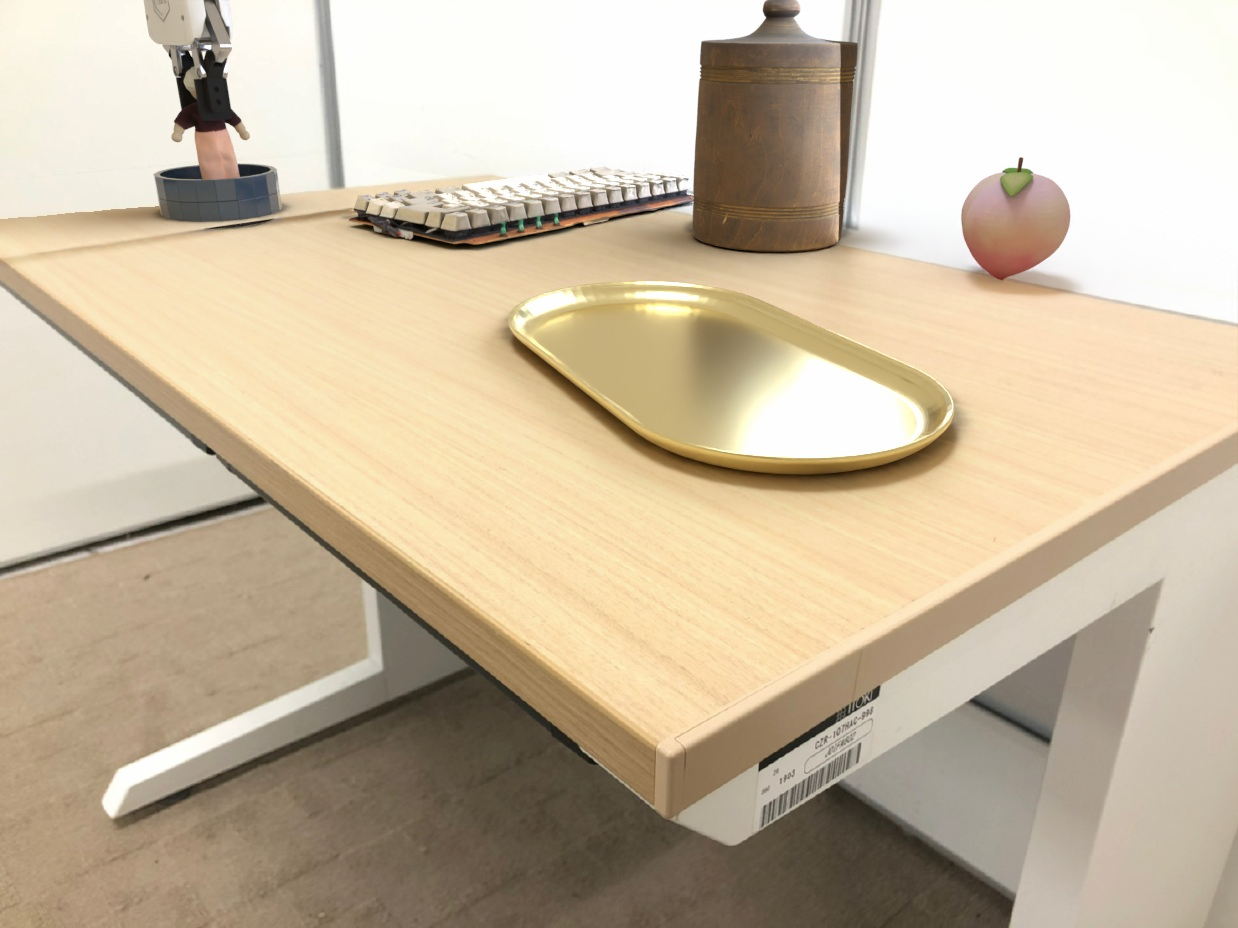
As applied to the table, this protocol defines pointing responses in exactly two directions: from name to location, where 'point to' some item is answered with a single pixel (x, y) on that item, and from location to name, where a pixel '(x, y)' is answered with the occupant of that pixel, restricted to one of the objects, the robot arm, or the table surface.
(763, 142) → the wooden container
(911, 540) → the table surface
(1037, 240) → the decorative fruit
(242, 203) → the bowl
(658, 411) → the serving platter
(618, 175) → the mechanical keyboard
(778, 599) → the table surface
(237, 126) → the grandmother figurine
